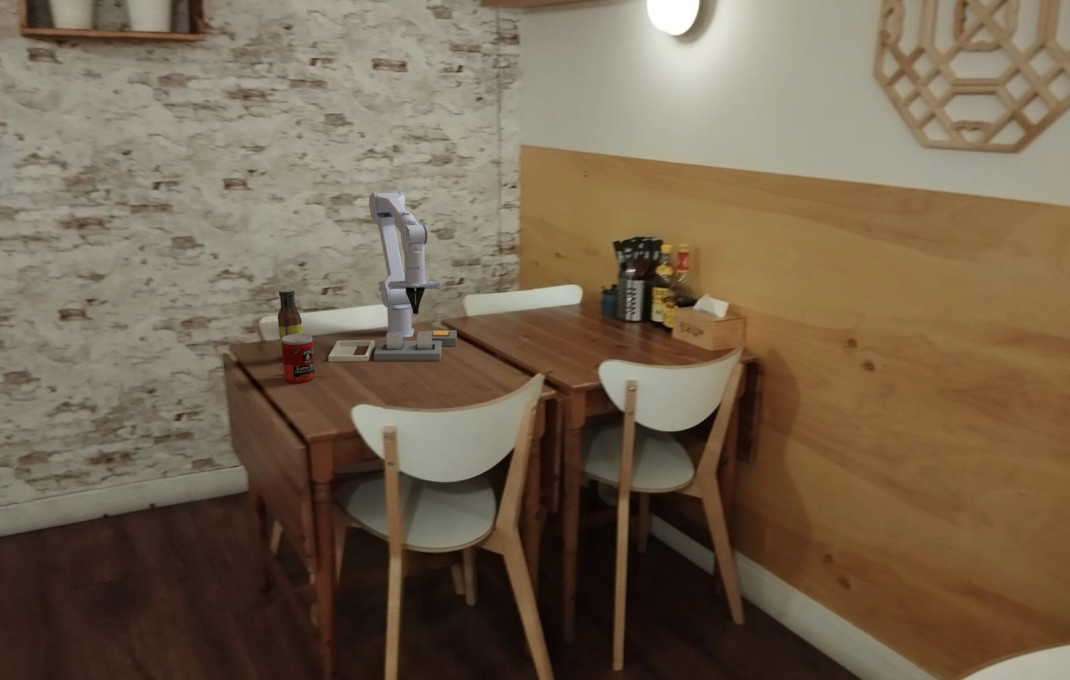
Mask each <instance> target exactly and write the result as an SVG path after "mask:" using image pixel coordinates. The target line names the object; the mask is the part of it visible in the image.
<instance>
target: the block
mask: <svg viewBox="0 0 1070 680" xmlns="http://www.w3.org/2000/svg"><path fill="white" fill-rule="evenodd" d="M416 341H417V350H433V348H432V331H427V330H426V331H421V330H420V331H417V334H416Z"/></svg>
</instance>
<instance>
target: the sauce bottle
mask: <svg viewBox="0 0 1070 680" xmlns="http://www.w3.org/2000/svg"><path fill="white" fill-rule="evenodd" d="M295 294H296V293H295V289H293V288H283V289H279V290H278V296H279V299H280V300H279V301H280V308H279V310H278V313H277V322H278V323H277V324H278V325H277V326H278V336H279V345H280V352H281V353H280V354H281V357H282V343H281V340H282V337H284V336H287V335H292V334H304V331H303V323H302V322H303V321H302V316H301V314H300V312H299V310H298V309H297V306H296V300H295ZM281 360H283V358H282V359H281Z"/></svg>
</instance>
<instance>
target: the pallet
mask: <svg viewBox="0 0 1070 680" xmlns="http://www.w3.org/2000/svg"><path fill="white" fill-rule="evenodd" d="M432 348H433V350H417V340H403V348H402V350H387V340H378V343H377V346H376V348H375V349H374V353H373V361H374V362H408V361H409V362H410V361H412V362H418V361H419V362H420V361H421V362H425V361H427V362H429V361H430V362H432V361H433V362H438V361H439V362H441V356H442V350H443V346H442V341H432Z"/></svg>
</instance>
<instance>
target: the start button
mask: <svg viewBox="0 0 1070 680" xmlns="http://www.w3.org/2000/svg"><path fill="white" fill-rule="evenodd" d="M433 337H449V331H434V333H433Z"/></svg>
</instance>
